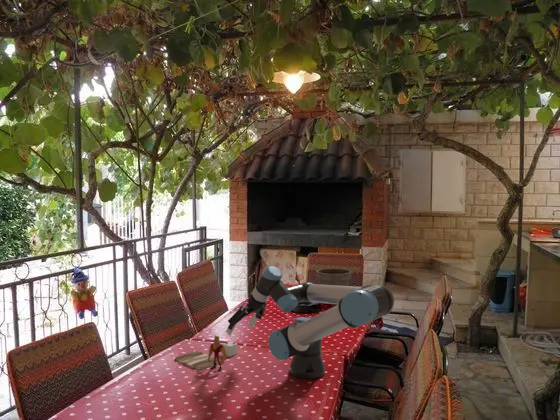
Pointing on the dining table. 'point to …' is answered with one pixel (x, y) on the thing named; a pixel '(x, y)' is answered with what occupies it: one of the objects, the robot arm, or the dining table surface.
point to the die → (231, 348)
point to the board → (196, 360)
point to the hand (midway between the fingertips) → (239, 329)
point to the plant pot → (334, 276)
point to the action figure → (217, 352)
